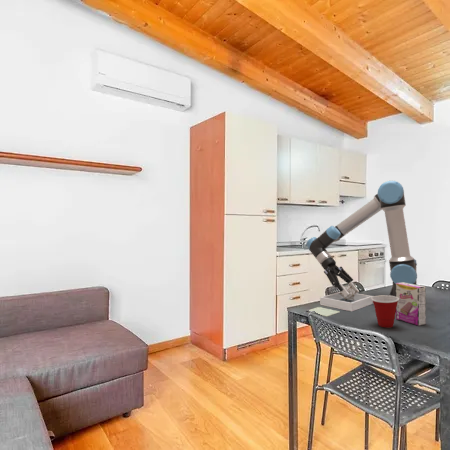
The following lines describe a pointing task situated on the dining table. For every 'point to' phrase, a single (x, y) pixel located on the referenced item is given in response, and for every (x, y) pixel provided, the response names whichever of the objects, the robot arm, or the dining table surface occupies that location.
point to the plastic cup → (385, 309)
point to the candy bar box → (411, 303)
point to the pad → (324, 311)
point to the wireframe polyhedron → (350, 291)
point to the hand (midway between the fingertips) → (352, 294)
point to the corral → (335, 302)
